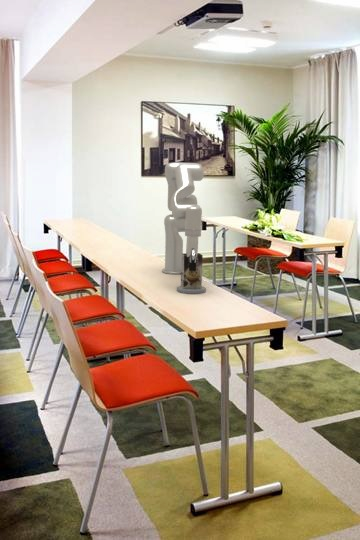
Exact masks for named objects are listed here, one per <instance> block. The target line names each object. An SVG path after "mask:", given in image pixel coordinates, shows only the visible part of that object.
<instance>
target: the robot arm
mask: <svg viewBox="0 0 360 540" xmlns="http://www.w3.org/2000/svg"><path fill="white" fill-rule="evenodd" d="M164 175H165V179H166V182H167V210H168V211H170V212H171V214H167V215H165V217H164V221H163V224H164V232H165V233H164V234H165V247H164V248H165V249H164V250H165V251H164V268H162V269H161V272H162V273H163V274H169V275H170V274H171V275H181V260H182V253H184V252H183V251H184V248H183V247H184V239H183V237H182V236H181V235H180V234H179V233H184V237H186V246H185V247H186V249H185V253H186V254H187V257H190V262H189V271H196V257H197V253H199V252H198V250H199V238H200V237H201V236H202V217H203V216H202V214H203V210H202V207H201V206H200V205H199V204H198V199H197V196H196V194H195V195H194V194H193V193H194V192H195V189H196V188H195V183H194V182H201V181H202V180H203V179H204V177H205V171H204V167H203V166H202V165H201V164H200V163H196V162H181V161H180V162H178V161H177V162H168V163H166V165H165V167H164Z"/></svg>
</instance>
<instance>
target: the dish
mask: <svg viewBox="0 0 360 540" xmlns="http://www.w3.org/2000/svg"><path fill="white" fill-rule="evenodd" d="M206 291H207V289H206V287H204V286H203V285H202V288H193V289H183V288H182V287H181V285H178V286H177V287H176V292H178V293H180V294H187V295H198V294H199V295H200V294H201V295H202V294H204V293H206Z"/></svg>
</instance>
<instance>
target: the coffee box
mask: <svg viewBox="0 0 360 540" xmlns="http://www.w3.org/2000/svg"><path fill="white" fill-rule="evenodd" d="M189 262H190V257H187V254H186V252H185V253H184V252H183V253H182V260H181V274H180V286H181V287H182V288H183V289H193V288H202V286H203V285H202V283H203V280H202V279H203V254H201V253H199V252H198V253H197V257H196V271H189Z"/></svg>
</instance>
